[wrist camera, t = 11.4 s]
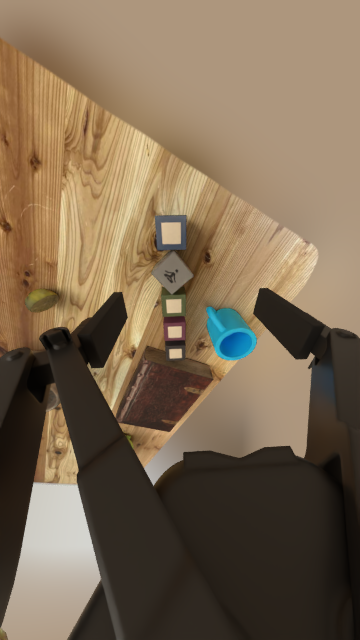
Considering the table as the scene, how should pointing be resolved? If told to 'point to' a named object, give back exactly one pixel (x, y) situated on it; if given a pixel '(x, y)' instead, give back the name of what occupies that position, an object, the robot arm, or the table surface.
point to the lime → (41, 300)
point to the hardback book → (162, 391)
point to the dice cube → (172, 271)
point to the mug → (230, 334)
